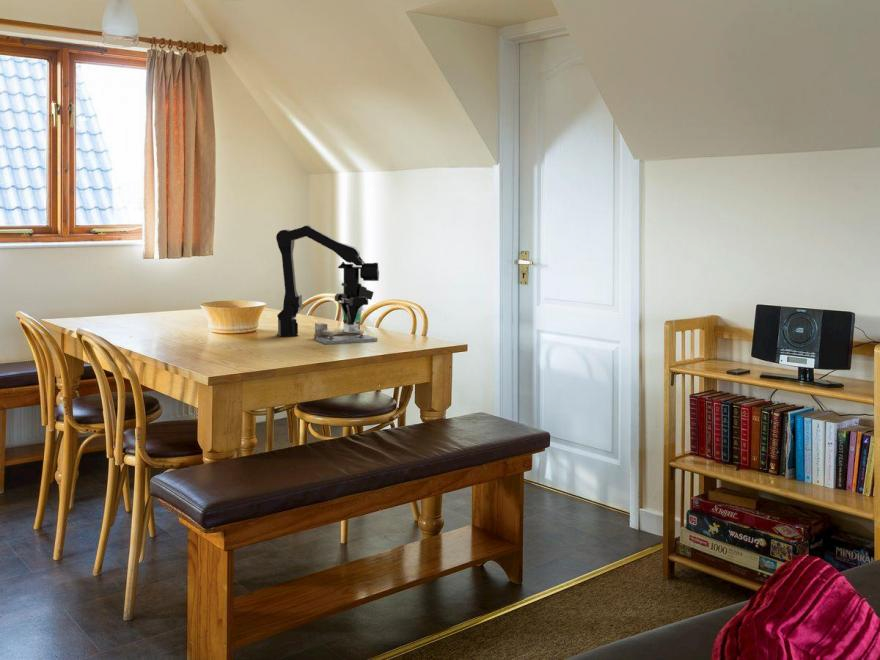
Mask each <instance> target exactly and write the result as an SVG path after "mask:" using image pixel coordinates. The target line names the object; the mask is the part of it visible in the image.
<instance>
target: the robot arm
mask: <svg viewBox="0 0 880 660" xmlns="http://www.w3.org/2000/svg"><path fill="white" fill-rule="evenodd" d="M305 237H306V238H309V239H311V240H312V241H314V242H316V243H318V244H320V245H321V246H324V247H325V248H327V249H329V250H331V251H332V252H334V253H335V254H336V255H338V257H340V259H342V260H344V261H345V262H346V263H345V262H344V261H342V262H341V263H340V265H338V267H337V268H338V269H343V282H342V283H341V286H342V287H343V293H342V292H341V293H336V294H335V295H334V302H339V303H338V304H339V305H340V307H341V309H342V313H343V312H344V314H345V316H346V318H347V311H348V313H349V317H350V320H351V322H352V323H354V322H355V319H356V315H357V312H358V309H359V308H360V307H361V306H362V307H363V306H368V305H369V300H370V301H372V299H373V296H374V293H375V292H374V291H372V290H369V289H367V287H365V286H363V285H362V284H361V283H360V279H362V281H365V282H368V281H369V282H379V280H380V271H379V263H378V262H365V261H364V260H363V259H362V257H361V256H360V254H361V253H360V251H359V249H358V248H357V247H355V246H352V245H349V244H346V243H342V242H340V241H338V240H335V239H334V238H332V237H331V236H328V235H327V234H325V233H322V232H321V231H319V230H317V229H315V228H314V227H312V226H311V225H304V226H301V227H298V228H295V229H292V230H290V229H282V230H280V231H278V232H277V234H276V236H275V240H276V243H277V247H278V249H279V252H280V254H281V263H282V273H283V281H284V282H283V284H284V298H283V305H282V306H283V307H282V310H281V311H280V312H279V313H278V314H277V333H276V336H280V337H282V338H283V337H285V338H286V337H298V336H299V334H298V333H299V329H298V328H299V324H298V322H297V318H296V317H297V316H298V314H299V313H300V312H301V311H302V307H303V306H304V303H303V295H302V294H300V295H299V294H298V292H297V285H296V275H295V263H294V248H295V242H296V240H299V239H302V238H305ZM354 265H355V266H354Z"/></svg>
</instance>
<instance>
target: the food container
mask: <svg viewBox="0 0 880 660" xmlns="http://www.w3.org/2000/svg"><path fill="white" fill-rule="evenodd" d="M363 310H364V308H363V306H361V307H360V308H359V309H358V312H357V315H356V319H355V324H358V325H359V329H360V330H361V319H362V311H363ZM342 313H343V315H342V316H343V324H344V323H347V318H346V316H345V314H344V312H343V311H342Z"/></svg>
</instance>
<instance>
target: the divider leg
mask: <svg viewBox="0 0 880 660" xmlns="http://www.w3.org/2000/svg"><path fill="white" fill-rule="evenodd" d="M343 332H347V333H360V336H363V335H364V332H365V331H364V329H363V330H362V329H361V328H360V329H359V325H358V324H355V322H354V323H352V322H351V320H350V317H349V313H348V311H347V323H344V322H343Z"/></svg>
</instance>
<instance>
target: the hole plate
mask: <svg viewBox="0 0 880 660" xmlns="http://www.w3.org/2000/svg"><path fill="white" fill-rule="evenodd" d="M315 342H318V343H321V344H323V345H339V344H341V345H342V344H352V343H353V344H356V343H357V344H358V343H370V342H371V343H372V342H378V337H375V336H373V335H370V334H363V336H360V335H351V336H333V338H329V337H316V338H315Z"/></svg>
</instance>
